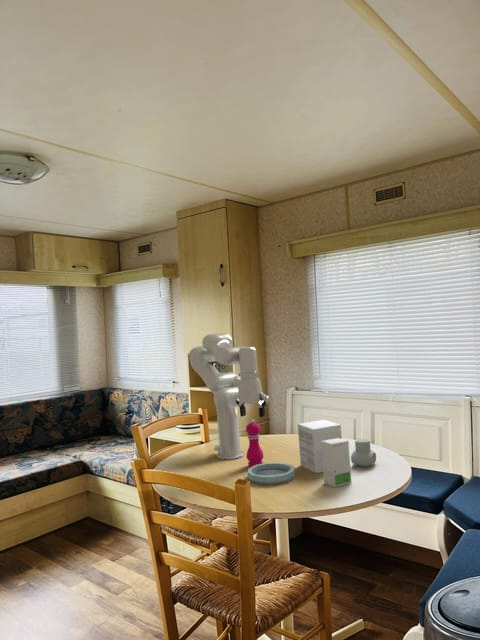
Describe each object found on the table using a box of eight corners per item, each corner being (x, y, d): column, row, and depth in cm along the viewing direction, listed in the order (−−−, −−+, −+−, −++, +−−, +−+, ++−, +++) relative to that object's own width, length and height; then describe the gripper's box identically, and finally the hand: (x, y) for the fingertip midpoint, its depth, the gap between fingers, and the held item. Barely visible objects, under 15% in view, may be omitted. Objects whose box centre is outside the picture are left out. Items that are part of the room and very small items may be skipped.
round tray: (239, 481, 186) (238, 473, 186) (264, 468, 200) (263, 460, 200) (279, 488, 175) (279, 479, 175) (302, 473, 190) (302, 465, 190)
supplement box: (327, 460, 206) (324, 419, 206) (344, 467, 193) (341, 424, 194) (299, 465, 201) (296, 423, 201) (315, 473, 189) (312, 429, 189)
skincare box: (334, 488, 171) (331, 444, 171) (322, 483, 177) (319, 441, 177) (352, 483, 175) (349, 440, 175) (340, 478, 181) (337, 437, 181)
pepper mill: (246, 464, 207) (243, 418, 207) (263, 463, 208) (259, 417, 208) (248, 469, 200) (244, 421, 200) (265, 468, 201) (261, 420, 201)
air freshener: (358, 460, 202) (356, 436, 202) (377, 462, 198) (375, 437, 198) (350, 468, 192) (348, 443, 192) (370, 470, 188) (368, 444, 188)
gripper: (227, 377, 206) (231, 417, 206) (261, 376, 196) (265, 418, 196) (237, 375, 212) (241, 414, 212) (271, 374, 202) (274, 415, 202)
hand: (252, 416), depth 204 cm, fingers open, 9 cm apart
